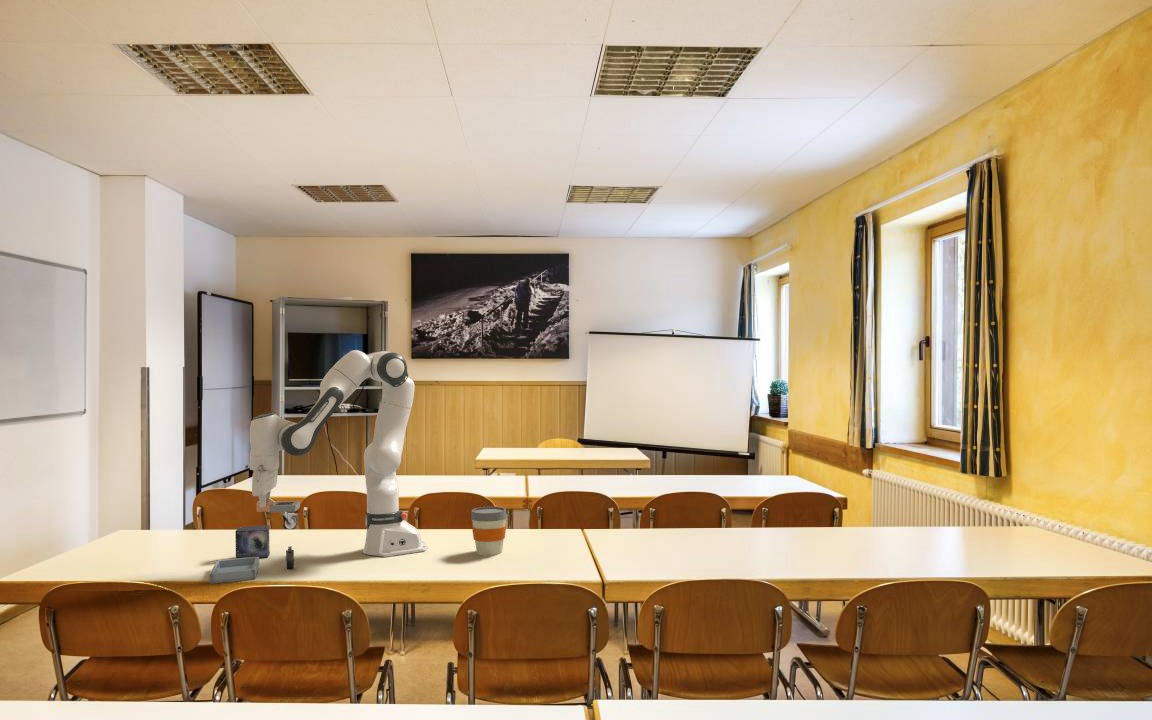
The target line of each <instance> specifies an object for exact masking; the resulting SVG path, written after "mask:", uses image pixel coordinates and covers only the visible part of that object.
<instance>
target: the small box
mask: <svg viewBox="0 0 1152 720" xmlns="http://www.w3.org/2000/svg"><path fill="white" fill-rule="evenodd" d="M234 533H235V559H238V558H248V557H259V560H260V559H269V556H270V554H271V551H270V524H268V525H267V524H266V525H253V526H252V525H250V526H238V527H237V529H236V530H235V532H234Z"/></svg>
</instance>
